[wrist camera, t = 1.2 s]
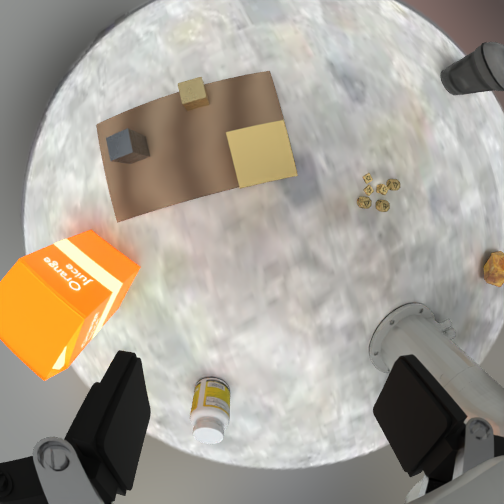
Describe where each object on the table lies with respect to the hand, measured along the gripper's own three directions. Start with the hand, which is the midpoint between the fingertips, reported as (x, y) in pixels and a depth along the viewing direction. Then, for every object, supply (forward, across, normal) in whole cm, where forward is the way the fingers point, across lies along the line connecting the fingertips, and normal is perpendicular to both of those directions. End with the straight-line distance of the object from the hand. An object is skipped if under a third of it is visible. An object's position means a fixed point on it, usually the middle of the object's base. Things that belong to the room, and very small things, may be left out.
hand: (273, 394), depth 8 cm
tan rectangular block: (+24, -1, -9) cm, 25 cm away
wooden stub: (+24, +7, -16) cm, 30 cm away
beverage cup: (+24, -30, -29) cm, 48 cm away
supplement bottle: (+25, +3, +24) cm, 34 cm away
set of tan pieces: (+25, -16, -7) cm, 31 cm away
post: (+24, +13, -10) cm, 29 cm away
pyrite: (+24, -44, 0) cm, 50 cm away
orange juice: (+26, +18, +6) cm, 32 cm away
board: (+25, +7, -11) cm, 28 cm away
